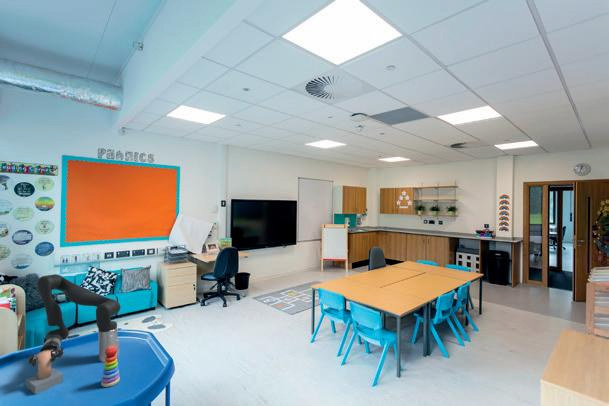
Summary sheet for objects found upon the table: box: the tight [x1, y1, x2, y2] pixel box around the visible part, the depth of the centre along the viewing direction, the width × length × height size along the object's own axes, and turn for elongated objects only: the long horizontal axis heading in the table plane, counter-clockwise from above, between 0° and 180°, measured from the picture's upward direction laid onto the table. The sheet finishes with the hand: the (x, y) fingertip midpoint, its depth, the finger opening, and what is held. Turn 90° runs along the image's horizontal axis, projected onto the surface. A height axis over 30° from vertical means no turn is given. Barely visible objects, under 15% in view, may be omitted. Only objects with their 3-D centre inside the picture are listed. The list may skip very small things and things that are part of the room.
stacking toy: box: [100, 346, 121, 388], centre depth 153 cm, size 8×8×19 cm
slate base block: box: [25, 367, 64, 395], centre depth 152 cm, size 11×11×4 cm
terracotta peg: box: [37, 350, 52, 379], centre depth 152 cm, size 5×5×12 cm
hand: (43, 362), depth 149 cm, fingers open, 6 cm apart
